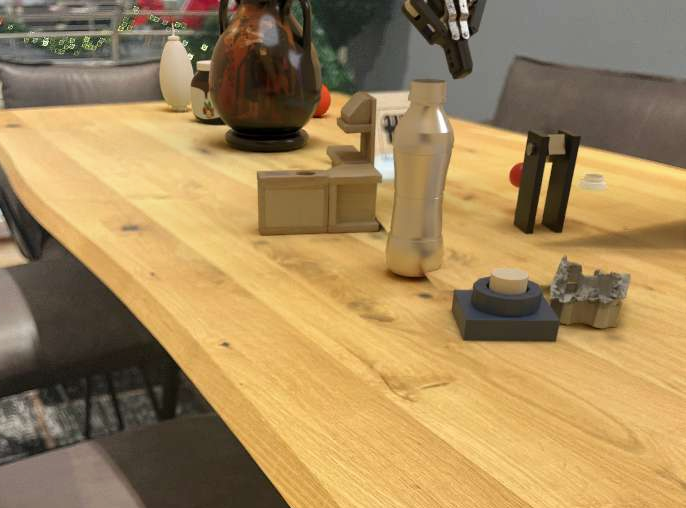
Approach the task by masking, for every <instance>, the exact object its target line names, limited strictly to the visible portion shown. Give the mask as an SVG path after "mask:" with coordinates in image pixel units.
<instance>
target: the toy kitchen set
mask: <svg viewBox="0 0 686 508" xmlns="http://www.w3.org/2000/svg"><path fill="white" fill-rule="evenodd" d="M377 104H378V103H377V98H376V97H375V96H373V95H371V94H369V93H368V92H366V91H361V92H355V93H354V94H353V95H352V96H351V97H350V98H349V99H348V100H347V102H345V104H344V105H343V106H342V108H341V109H340V116H339V117H336V126H337V127H338V128H340V129H341V131H343V132H344V133H345V134H348V135H349V134H350V135H351V134H360V135H359V136H360V137H359V138H360V139H359V140H360V141H359V149H357V148H356V146H355V145H354V144H343V145H342V144H341V145H339V144H338V145H327V147H326V155H327V157H328V158H329V159H330V160H331V167H330V168H327V169H285V170H283V169H282V170H281V169H280V170H279V169H278V170H256V180H257V182H256V183H257V185H256V186H257V219H258V220H257V221H258V223H257V224H258V225H257V226H258V230H259V233H260V235H261V236H270V235H271V236H274V235H305V234H327V233H328V234H337V233H338V234H339V233H342V234H343V233H363V232H364V233H367V232H369V233H372V232H379V230H380V223H379V222H378V221H377V219H376V209H377V207H376V206H377V195H378V194H377V193H378V184H382V183H383V174H382V173H381V172H380V171H379V170H378V169H377V168H376V167H375V158H376V155H375V154H376V129H377V128H376V127H377Z"/></svg>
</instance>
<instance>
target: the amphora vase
mask: <svg viewBox="0 0 686 508" xmlns="http://www.w3.org/2000/svg"><path fill="white" fill-rule="evenodd" d="M295 1H296V0H234V2H235V3H236V4H235V5H236V12H235V14H234V16H233V18H231V21H230V22H228V20H229V19H228V9H229V8H228V7H229V2H230V0H219V1H218V12H217V13H218V32H219V38H218V40H217V42H216V43H215V46H214V49H213V51H212V54H211V63H210V70H209V81H208V82H209V92H210V98H211V100H212V103H213V106H214V108H215V110H216V112H217V113H218V115H219V116H220V118H221V119H222V120H223V121H224V122H225V124H224V125H226V126H227V127H228V128H230V129H228V130H227V131H226V132H225V134H224V140H225V142H226V143H227V144H228V145H229V146H230V147H233V148H235V149H239V150H242V151H251V152H282V151H283V152H284V151H291V150H296V149H300V148H301V147H303V146H304V145H306V144H307V143H308V141H309V138H310V135H309V133H308V132H307V131H306V130H305V129H304V127H306V126H307V125H308V124H309V123H310V121H312V119H313V115H314V114H315V112H316V110H317V108H318V106H319V103H320V100H321V97H322V84H323V76H322V69H321V63H320V60H319V56H318V53H317V51H316V48H315V46H314V44H313V42H312V40H313V39H312V32H313V13H312V5H311V2H310V0H297V1H298V2H299V3H300V6H301V11H302V18H303V20H302V21H303V22H302V26H301V25H300V23H299V22H298V21H297V19H296V17H295V16H294V15H293V13H292V9H293V4H294V2H295Z"/></svg>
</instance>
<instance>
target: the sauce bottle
mask: <svg viewBox="0 0 686 508" xmlns="http://www.w3.org/2000/svg"><path fill="white" fill-rule="evenodd" d="M171 34H172V35H168V36H167V42H166V43H165V45H164V48H163V50H162V54H161V58H160V61H159V62H160V63H159V71H158V72H159V87H160V91H161V94H162V97H163V99H164V101H165V103H166V104H167V105H168V106H170V107H171V109H172V110H175V112H178V113H180V112H181V113H183V112H184V111H185V110H187V109H188V106H190V105H191V92H190V85H191V81H192V78H193V77H194V75H195V74H194V70H193V66H192V62H191V59H190V56H189V54H188V51H187V50H186V48H185V46H184V44H183V43H182V42H181V41H180V40H181V38H180V36H179V35H176V34H175V26H174V23H173V22H171Z"/></svg>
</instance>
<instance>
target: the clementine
mask: <svg viewBox="0 0 686 508" xmlns="http://www.w3.org/2000/svg"><path fill="white" fill-rule="evenodd" d="M331 101H332V97H331V89H330V87H329V85H327V84H326V83H322V97H321V100H320V103H319V106H318V108H317V110H316V112H315V114H314V115H313V117H314V118H319V117H321V116H323V115H325V114H327V112H328V110H329V109H330V107H331V103H332V102H331ZM313 117H312V118H313Z"/></svg>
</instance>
